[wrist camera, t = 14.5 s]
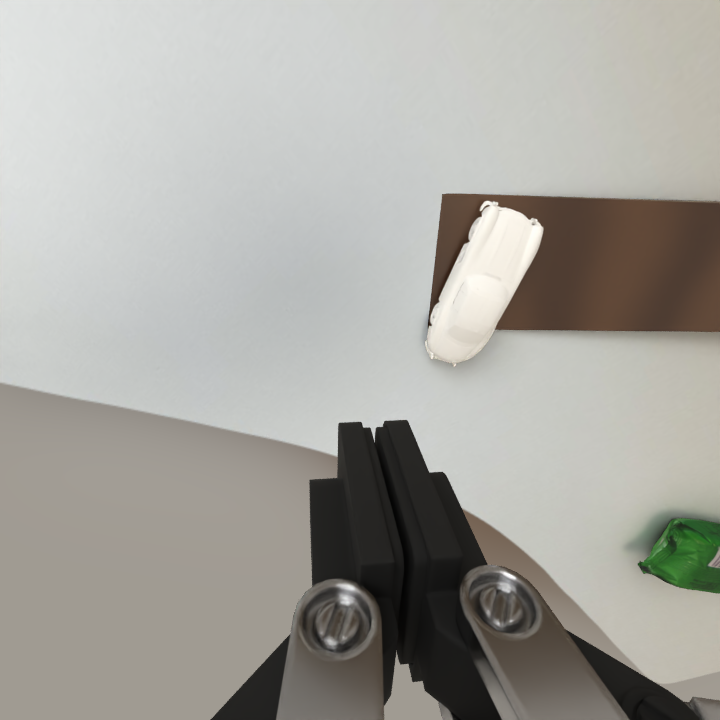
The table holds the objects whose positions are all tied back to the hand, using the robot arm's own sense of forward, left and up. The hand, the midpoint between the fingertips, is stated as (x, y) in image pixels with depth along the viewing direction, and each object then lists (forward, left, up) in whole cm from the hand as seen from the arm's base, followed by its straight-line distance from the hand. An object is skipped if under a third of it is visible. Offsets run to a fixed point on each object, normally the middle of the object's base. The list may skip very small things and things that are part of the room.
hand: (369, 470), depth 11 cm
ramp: (+36, 0, -24) cm, 43 cm away
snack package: (+42, -31, -22) cm, 57 cm away
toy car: (+11, -2, -22) cm, 25 cm away
